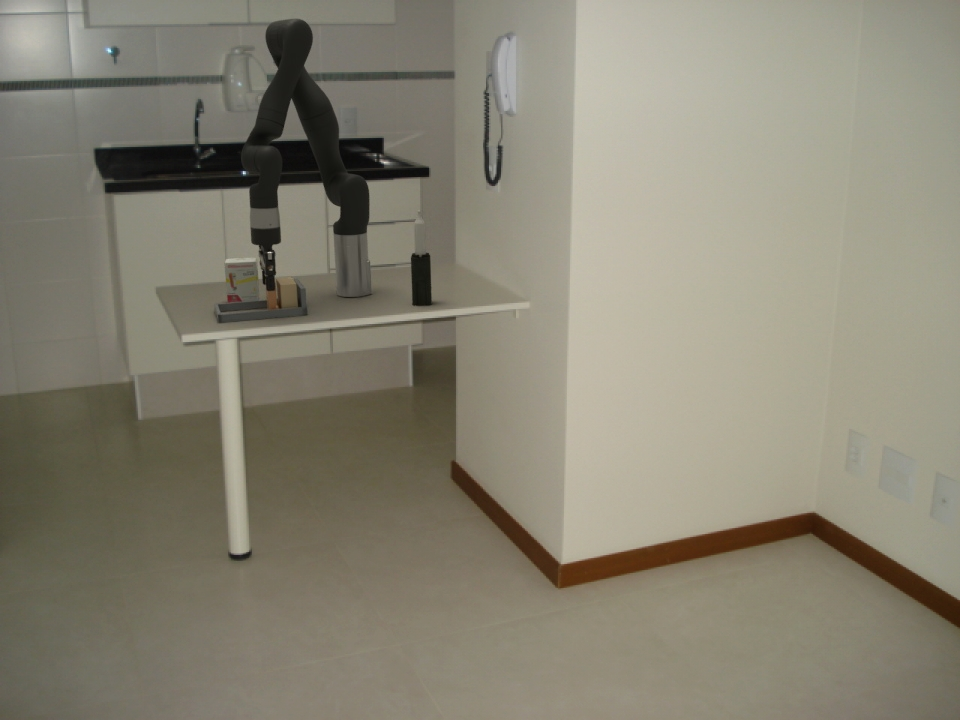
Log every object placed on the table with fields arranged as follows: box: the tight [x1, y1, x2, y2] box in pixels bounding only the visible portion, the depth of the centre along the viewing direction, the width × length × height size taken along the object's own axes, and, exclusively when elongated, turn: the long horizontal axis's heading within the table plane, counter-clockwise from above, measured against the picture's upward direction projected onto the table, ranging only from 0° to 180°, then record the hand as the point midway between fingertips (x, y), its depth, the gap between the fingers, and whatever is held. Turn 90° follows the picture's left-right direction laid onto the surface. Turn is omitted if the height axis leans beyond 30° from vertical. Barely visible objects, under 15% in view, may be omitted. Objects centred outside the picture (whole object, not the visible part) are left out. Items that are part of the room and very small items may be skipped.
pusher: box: [265, 279, 279, 310], centre depth 260 cm, size 2×10×8 cm, turn 18°
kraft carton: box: [275, 276, 298, 309], centre depth 262 cm, size 4×9×8 cm, turn 18°
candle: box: [410, 209, 433, 306], centre depth 265 cm, size 5×5×25 cm
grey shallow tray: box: [213, 278, 308, 324], centre depth 260 cm, size 22×13×7 cm, turn 108°
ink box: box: [224, 257, 261, 303], centre depth 271 cm, size 9×5×12 cm, turn 100°
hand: (268, 287), depth 260 cm, fingers open, 8 cm apart
